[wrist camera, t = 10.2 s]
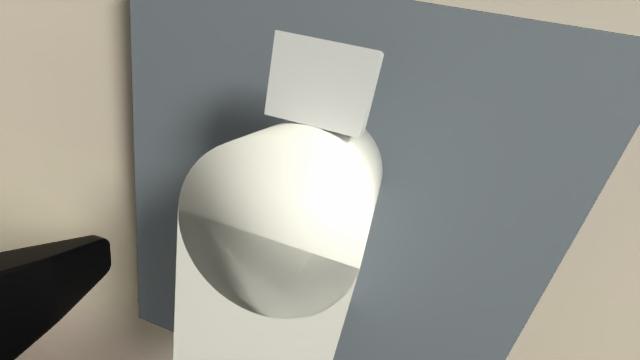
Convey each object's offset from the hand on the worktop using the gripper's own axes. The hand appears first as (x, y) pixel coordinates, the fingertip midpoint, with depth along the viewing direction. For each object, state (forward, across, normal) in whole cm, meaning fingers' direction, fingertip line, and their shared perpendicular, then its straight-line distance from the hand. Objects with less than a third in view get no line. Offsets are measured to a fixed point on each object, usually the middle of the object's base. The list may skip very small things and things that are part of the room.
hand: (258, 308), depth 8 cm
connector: (+4, 0, 0) cm, 4 cm away
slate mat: (+6, 0, 0) cm, 6 cm away
